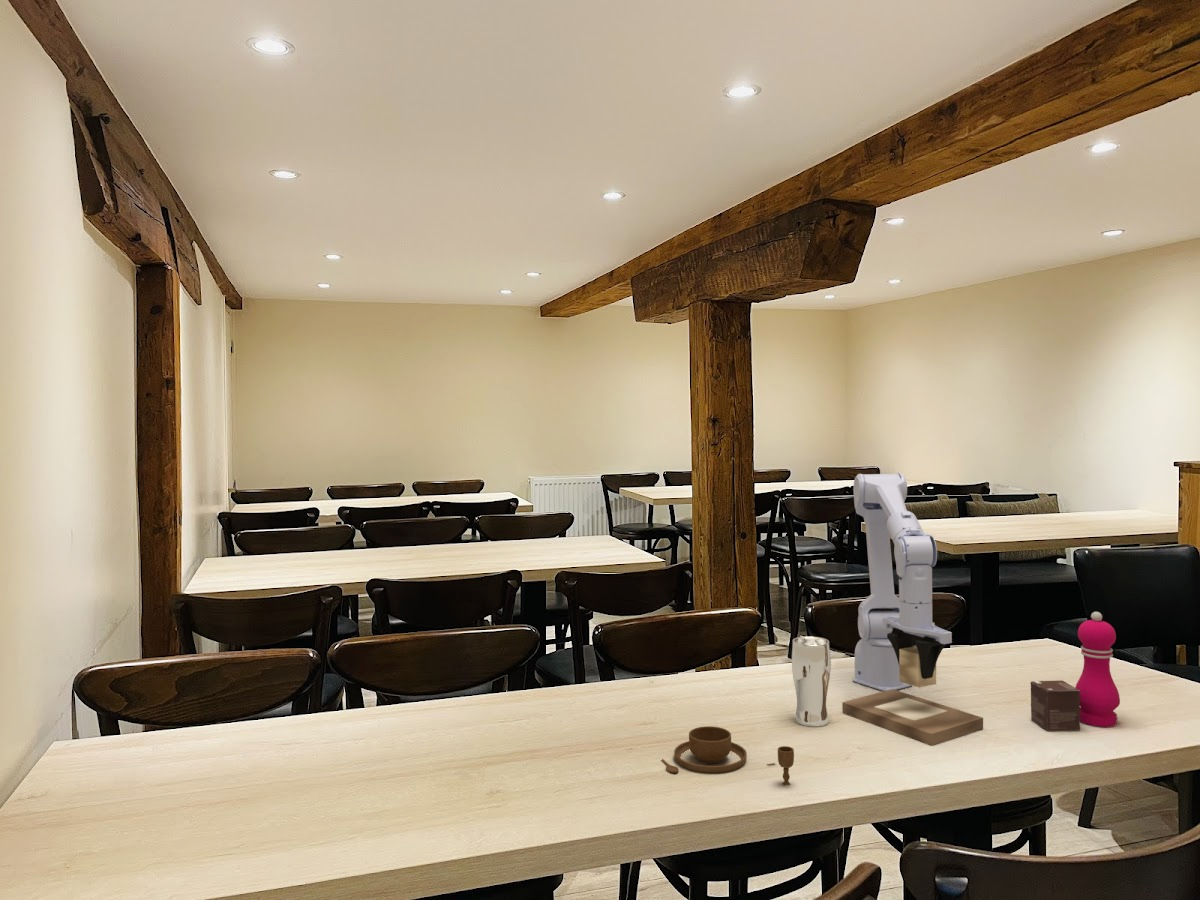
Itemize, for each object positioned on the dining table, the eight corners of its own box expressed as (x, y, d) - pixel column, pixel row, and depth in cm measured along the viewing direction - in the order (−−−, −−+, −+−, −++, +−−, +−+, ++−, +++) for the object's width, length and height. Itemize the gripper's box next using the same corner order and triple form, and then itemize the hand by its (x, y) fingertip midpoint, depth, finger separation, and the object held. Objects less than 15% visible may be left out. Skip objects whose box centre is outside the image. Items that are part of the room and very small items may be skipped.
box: (1081, 731, 152) (1081, 690, 151) (1046, 732, 152) (1046, 690, 151) (1063, 719, 158) (1063, 679, 157) (1029, 720, 158) (1029, 680, 157)
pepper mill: (1126, 729, 152) (1126, 616, 151) (1081, 727, 153) (1081, 615, 153) (1111, 715, 159) (1110, 608, 158) (1068, 713, 160) (1068, 607, 160)
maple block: (899, 681, 160) (899, 649, 160) (916, 677, 162) (916, 646, 162) (918, 687, 156) (918, 654, 156) (936, 684, 158) (936, 651, 158)
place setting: (743, 742, 151) (743, 709, 151) (802, 788, 132) (801, 750, 131) (649, 756, 146) (648, 721, 146) (696, 806, 127) (695, 766, 126)
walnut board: (842, 712, 163) (842, 701, 163) (892, 699, 171) (892, 688, 171) (931, 745, 146) (931, 732, 146) (983, 728, 154) (983, 716, 153)
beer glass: (827, 714, 162) (827, 636, 162) (834, 728, 155) (833, 645, 155) (790, 714, 163) (789, 635, 163) (794, 727, 156) (793, 645, 156)
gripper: (963, 605, 154) (964, 680, 154) (901, 592, 167) (901, 661, 167) (935, 610, 150) (936, 687, 151) (874, 596, 163) (874, 667, 164)
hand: (916, 674), depth 159 cm, fingers closed on maple block, 4 cm apart
